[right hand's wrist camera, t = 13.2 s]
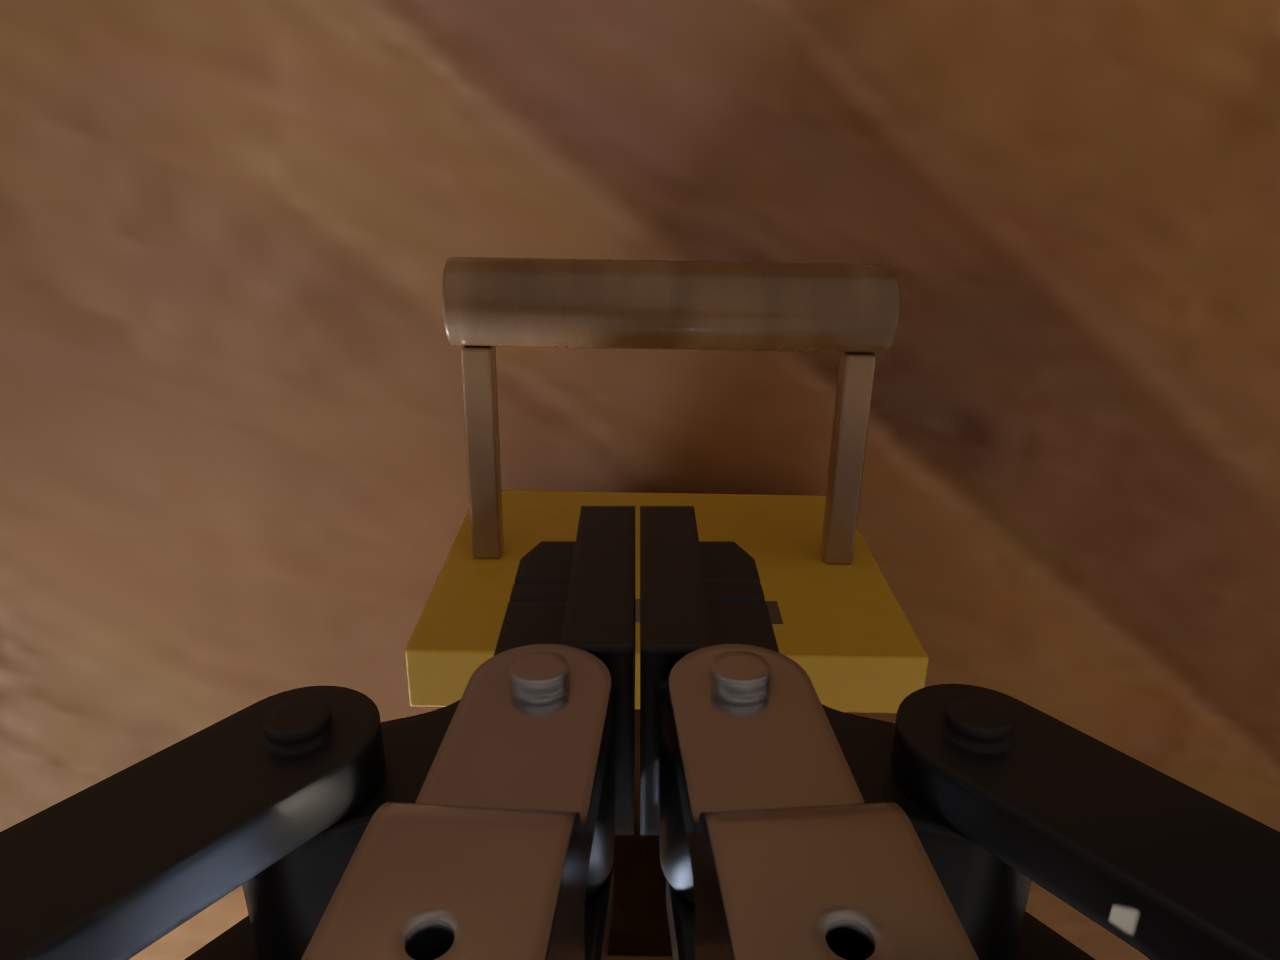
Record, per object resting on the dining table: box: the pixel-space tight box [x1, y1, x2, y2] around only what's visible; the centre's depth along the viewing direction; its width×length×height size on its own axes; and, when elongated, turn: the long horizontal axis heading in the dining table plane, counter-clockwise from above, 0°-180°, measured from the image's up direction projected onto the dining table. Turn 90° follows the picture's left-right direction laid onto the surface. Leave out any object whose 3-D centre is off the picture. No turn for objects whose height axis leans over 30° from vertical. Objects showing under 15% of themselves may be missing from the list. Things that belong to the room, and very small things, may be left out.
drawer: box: [405, 257, 929, 956], centre depth 21 cm, size 24×9×8 cm, turn 179°
